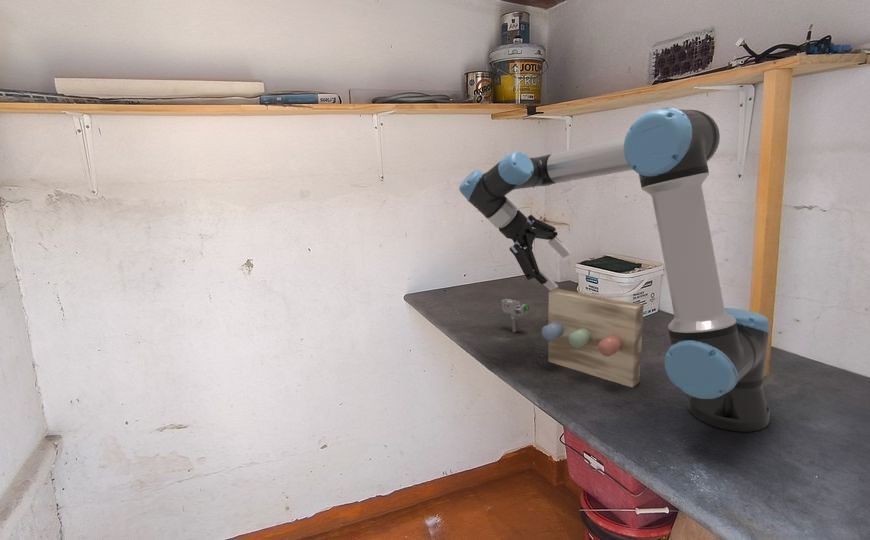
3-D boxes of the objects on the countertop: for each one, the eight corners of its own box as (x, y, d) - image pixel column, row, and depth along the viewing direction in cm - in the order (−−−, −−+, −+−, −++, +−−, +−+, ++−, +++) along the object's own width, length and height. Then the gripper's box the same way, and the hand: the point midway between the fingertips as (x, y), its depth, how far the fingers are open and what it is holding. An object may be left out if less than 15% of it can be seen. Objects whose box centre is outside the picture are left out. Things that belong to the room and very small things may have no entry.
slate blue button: (554, 342, 129) (554, 327, 128) (541, 338, 132) (541, 324, 131) (563, 337, 131) (563, 323, 130) (550, 334, 134) (550, 320, 133)
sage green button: (582, 349, 123) (583, 334, 122) (568, 345, 126) (568, 330, 125) (591, 345, 126) (591, 330, 125) (577, 341, 128) (577, 326, 128)
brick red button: (613, 358, 117) (614, 342, 116) (597, 354, 120) (598, 338, 119) (621, 353, 120) (622, 337, 119) (606, 349, 123) (606, 333, 122)
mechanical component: (524, 336, 158) (524, 306, 156) (499, 329, 166) (499, 299, 164) (530, 333, 160) (530, 303, 158) (505, 326, 168) (505, 298, 166)
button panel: (632, 387, 122) (635, 308, 117) (548, 361, 139) (548, 291, 134) (639, 382, 125) (643, 304, 120) (556, 357, 142) (557, 288, 137)
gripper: (513, 198, 144) (562, 247, 149) (482, 254, 129) (537, 307, 133) (531, 185, 138) (582, 237, 143) (501, 243, 123) (558, 299, 128)
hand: (560, 271), depth 138 cm, fingers open, 13 cm apart
